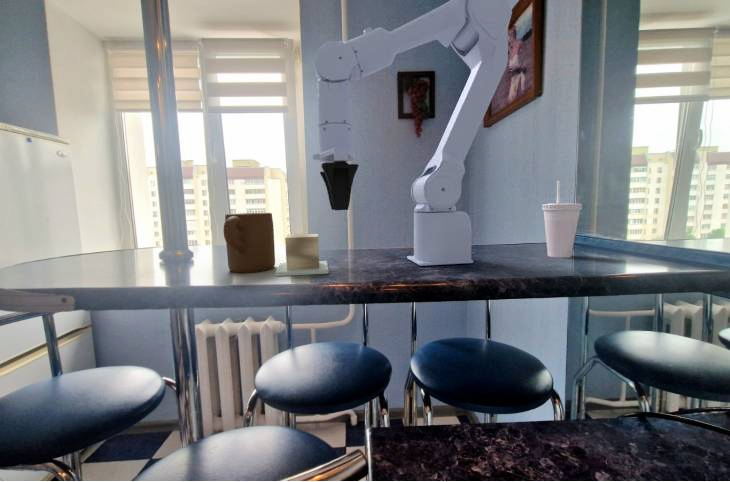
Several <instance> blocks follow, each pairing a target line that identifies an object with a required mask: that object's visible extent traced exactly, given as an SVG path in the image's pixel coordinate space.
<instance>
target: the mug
mask: <svg viewBox="0 0 730 482" xmlns="http://www.w3.org/2000/svg"><path fill="white" fill-rule="evenodd" d="M224 217H225V219H224V220H225V221H224V223H223V238H224V240H225V244H226V253H227V254H226V255H227V266H228V269H229V271H230V272H232V273H238V274H239V273H240V274H250V273H259V272H260V273H261V272H265V271H269V270H272V269H274V267H275V266H276V265H275V264H276V255H275V252H276V251H275V250H276V249H275V232H274V229H275V228H274V221H273V220H274V219H273V213H272V212H246V213H240V212H239V213H227V214H226V213H225V216H224Z"/></svg>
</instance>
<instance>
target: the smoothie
mask: <svg viewBox="0 0 730 482" xmlns="http://www.w3.org/2000/svg"><path fill="white" fill-rule="evenodd" d="M556 181H557V183H556V184H557V185H556V202H555V203H545V204H544V203H543V204H541V210H542V211H543V220H544V229H545V230H544V231H545V240H546V250H547V252H546V253H547V257H550V258H557V259H558V258H559V259H569V258H571V257H572V253H573V249H574V248H573V247H574V242H575V239H576V234H577V233H576V232H577V228H578V223H579V216H580V212H581V210H583V204H582V203H575V202H561V192H562V191H561V190H562V189H561V188H562V180H556Z"/></svg>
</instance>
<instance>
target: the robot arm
mask: <svg viewBox="0 0 730 482" xmlns="http://www.w3.org/2000/svg"><path fill="white" fill-rule="evenodd" d="M512 15H513V10H512V8H511V6H510V4H509V1H508V0H448V1H446V3H444V4H442V5H440V6H438V7H436V8H434V9H432V10H430V11H428V12H426V13H424V14H422V15H420V16H418V17H417V18H415V19H412V20H411V21H408V22H407V23H405V24H403V25H400V26H399V27H397V28H395V29H392V30H391V31H389V30H387V29H385V28H383V27H377V28H374V29H372V27H371V26H370V27H367V28H365V29H363V34H361V35H358V36H356V37H354V38H351V39H349V40H347V41H345V42H343V40H340V41H336V40H328V41H326V42H325V43H324V44H322V45H321V46H320V47H319V48H318V49H317V51H316V53H315V57H314V70H315V80H316V81H315V82H316V85H317V87H316V93H317V98H316V104H317V105H316V107H317V124H318V125H317V129H318V145H319V146H318V147H319V149H318V150H319V153H314V154H312V160H315V161H321V162H322V163H321V164H320V166H321V169H322V171H319V174H320V177H321V178H322V180H323V182H324V185H325V187H326V190H327V196H328V201H329V205H330V208H331V210H332V211H348V210H349V206H350V203H351V202H350V201H351V195H352V187H353V184H354V183H353V182H354V179H355V175H356V173H357V171H358V168H359V167H360V166H359V164H357V163H349V162H352V161H355V160H356V153H355V148H354V147H355V146H354V145H355V144H354V141H355V140H354V124H353V123H354V122H353V119H354V118H353V98H352V96H351V82H352V81H353V82H354V81H359V80H361V79H363V78H366V77H367V76H370V75H372V74H374V73H377V72H379V71H381V70H384V69H385V68H388V67H390V66H391V65H392V64H393V62H394V60H395V57H396V55H399V54H401V53H404V52H407V51H408V50H411V49H414V48H417V47H419V46H422V45H425V44H428V43H431V42H433V41H436V40H437V41H438V42H439V43H440V44H441V45H442V46H443V47H445V48H449V46H451V47H452V49H453V50H454V52H455V53H456V54H457V55H458V56H459V58H460V59H462V61H463V62H464V63H465V64H466V66H467V67H468V68H469V69H470V74H469V76H468V79H467V81H466V84H465V85H464V88H463V90H462V92H461V94H460V97H459V99H458V101H457V103H456V106H455V108H454V110H453V112H452V114H451V116H450V119H449V121H448V123H447V126H446V128H445V131H444V132H443V134H442V137H441V139H440V142H439V144H438V147H437V148H436V151H435V153H434V155H433V156H432V157H431V158H430V160H429V161H428V164H427V165H426V166H425V168H424V170H423V173H422V174H421V175H420V176H419V177H417V178H416V179H415V181H414V182H413V183H412V185H411V188H410V196H411V199H412V202H414V204H415V205H416V206H415V208H414V209H413V255H407V256H406V258H407V259H408V260H410V261H411V262H413V263H415V264H416V265H418V266H439V265H440V266H441V265H443V266H444V265H457V264H472V263H474V260H473V259H472V235H473V234H472V233H473V232H472V229H473V228H472V221H471V217H470V215H469V214H468V213H467V212H465V211H457V207H456V204H457V202H458V201H459V200H460V199H461V194H462V192H463V191H462V182H463V181H462V180H463V177H464V175H465V173H466V168H465V164H464V163H465V160H466V157H467V155H468V153H469V151H470V148H471V146H472V144H473V142H474V139H475V137H476V135H477V132H478V131H479V129H480V127H481V124H482V122H483V119H484V117H485V115H486V112H487V111H488V109H489V107H490V104H491V101H492V100H493V97H494V95H495V93H496V90H497V88H498V87H499V84H500V81H501V80H502V77H503V75H504V73H505V71H506V69H507V66H508V62H509V34H508V33H509V32H508V31H509V25H510V21H511V18H512Z"/></svg>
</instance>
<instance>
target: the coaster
mask: <svg viewBox="0 0 730 482" xmlns="http://www.w3.org/2000/svg"><path fill="white" fill-rule="evenodd" d="M329 270H330V269H329V266H328V261H327V260H319V268H312V269H293V270H287V263H286V262H280V263H279V264H278V266H277V268H276V270H275V272H274V275H275V277H286V276H287V277H288V276H302V275H306V276H307V275H323V274H330V272H329Z"/></svg>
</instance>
